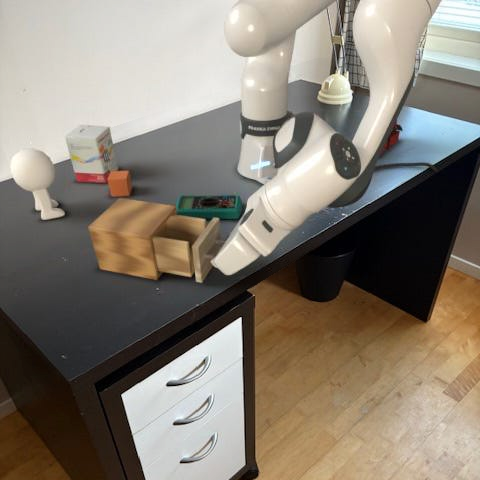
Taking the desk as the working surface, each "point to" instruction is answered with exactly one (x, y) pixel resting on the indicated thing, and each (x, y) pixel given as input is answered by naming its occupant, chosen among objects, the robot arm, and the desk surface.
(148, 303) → the desk surface
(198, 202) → the digital multimeter
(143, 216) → the cabinet
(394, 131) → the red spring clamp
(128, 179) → the block
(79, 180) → the ink box
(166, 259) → the drawer
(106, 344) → the desk surface
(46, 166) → the toy character
